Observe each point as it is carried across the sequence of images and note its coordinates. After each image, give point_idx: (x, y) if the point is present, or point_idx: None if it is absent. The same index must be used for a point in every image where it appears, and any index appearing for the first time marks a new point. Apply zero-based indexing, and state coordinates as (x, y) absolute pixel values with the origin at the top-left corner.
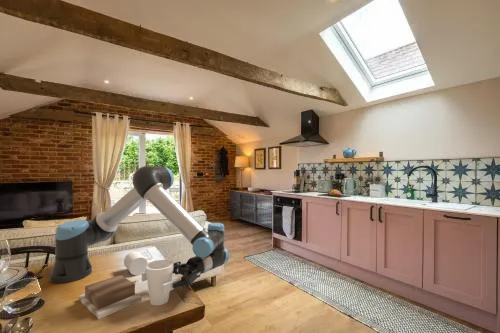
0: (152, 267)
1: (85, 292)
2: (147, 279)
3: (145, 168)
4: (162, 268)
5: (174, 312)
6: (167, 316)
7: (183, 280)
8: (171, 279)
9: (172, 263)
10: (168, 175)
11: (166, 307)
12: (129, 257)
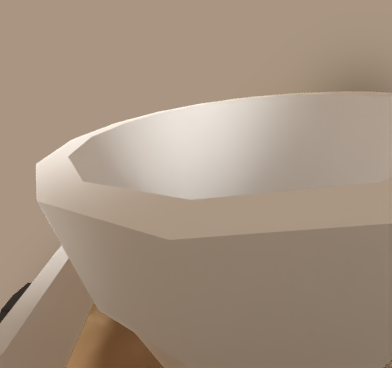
0: (349, 155)
1: None
2: (241, 182)
3: None
4: (113, 127)
5: (74, 356)
6: (91, 312)
7: None
8: (160, 362)
9: (80, 193)
10: None
11: (147, 350)
12: None
